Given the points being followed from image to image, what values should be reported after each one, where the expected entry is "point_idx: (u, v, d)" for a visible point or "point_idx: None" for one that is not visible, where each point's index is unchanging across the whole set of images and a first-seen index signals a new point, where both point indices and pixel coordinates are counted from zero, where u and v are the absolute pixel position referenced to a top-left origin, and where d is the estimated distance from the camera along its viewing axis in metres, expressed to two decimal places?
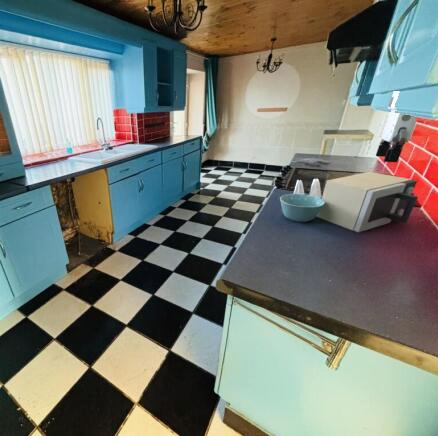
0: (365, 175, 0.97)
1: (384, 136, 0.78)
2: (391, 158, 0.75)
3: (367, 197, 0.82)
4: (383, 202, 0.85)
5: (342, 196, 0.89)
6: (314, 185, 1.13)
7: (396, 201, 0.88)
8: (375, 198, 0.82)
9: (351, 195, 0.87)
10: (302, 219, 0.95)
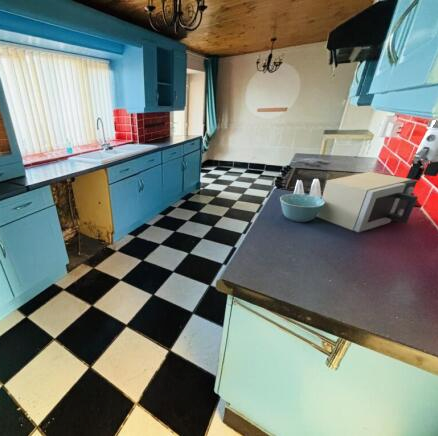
0: (365, 175, 0.97)
1: None
2: (411, 175, 0.79)
3: (367, 197, 0.82)
4: (383, 202, 0.85)
5: (342, 196, 0.89)
6: (314, 185, 1.13)
7: (396, 201, 0.88)
8: (375, 198, 0.82)
9: (351, 195, 0.87)
10: (302, 219, 0.95)
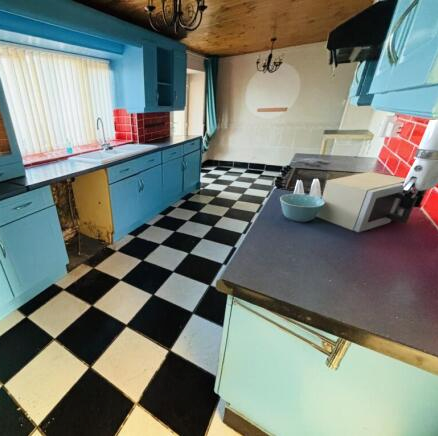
0: (365, 175, 0.97)
1: None
2: (403, 204, 0.84)
3: (367, 197, 0.82)
4: (383, 202, 0.85)
5: (342, 196, 0.89)
6: (314, 185, 1.13)
7: (396, 201, 0.88)
8: (375, 198, 0.82)
9: (351, 195, 0.87)
10: (302, 219, 0.95)
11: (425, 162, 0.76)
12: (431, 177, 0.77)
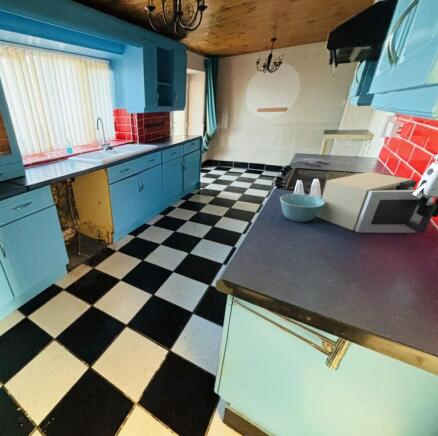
0: (365, 175, 0.97)
1: None
2: (418, 211, 0.78)
3: (367, 197, 0.82)
4: (393, 206, 0.81)
5: (342, 196, 0.89)
6: (314, 185, 1.13)
7: None
8: (378, 199, 0.81)
9: (351, 195, 0.87)
10: (302, 219, 0.95)
11: (437, 165, 0.71)
12: None
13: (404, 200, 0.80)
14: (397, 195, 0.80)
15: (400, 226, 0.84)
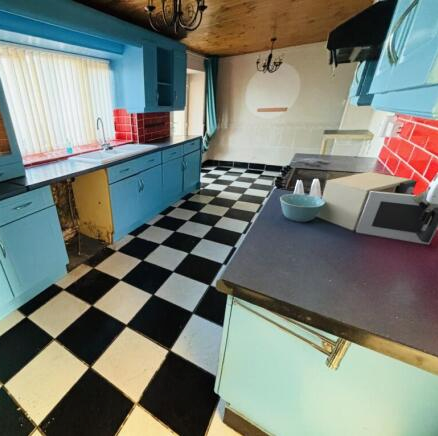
0: (365, 175, 0.97)
1: None
2: (420, 218, 0.74)
3: (368, 197, 0.82)
4: (398, 210, 0.78)
5: (342, 196, 0.89)
6: (314, 185, 1.13)
7: None
8: (378, 201, 0.80)
9: (351, 195, 0.87)
10: (302, 219, 0.95)
11: None
12: None
13: (411, 205, 0.76)
14: (402, 199, 0.77)
15: (409, 234, 0.79)
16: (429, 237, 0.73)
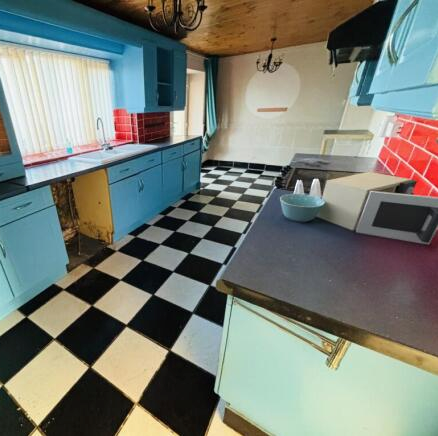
0: (365, 175, 0.97)
1: None
2: None
3: (368, 197, 0.82)
4: (398, 210, 0.78)
5: (342, 196, 0.89)
6: (314, 185, 1.13)
7: None
8: (378, 201, 0.80)
9: (351, 195, 0.87)
10: (302, 219, 0.95)
11: None
12: None
13: (411, 205, 0.76)
14: (402, 199, 0.77)
15: (409, 234, 0.79)
16: (429, 237, 0.73)
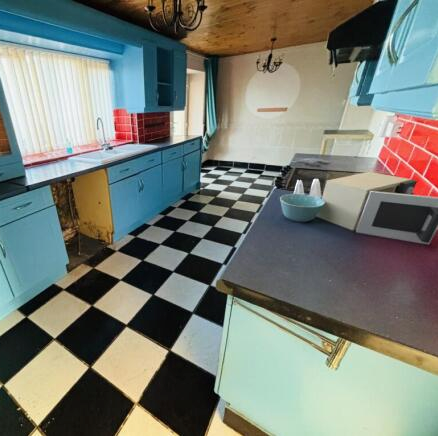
0: (365, 175, 0.97)
1: None
2: None
3: (368, 197, 0.82)
4: (398, 210, 0.78)
5: (342, 196, 0.89)
6: (314, 185, 1.13)
7: None
8: (378, 201, 0.80)
9: (351, 195, 0.87)
10: (302, 219, 0.95)
11: None
12: None
13: (411, 205, 0.76)
14: (402, 199, 0.77)
15: (409, 234, 0.79)
16: (429, 237, 0.73)
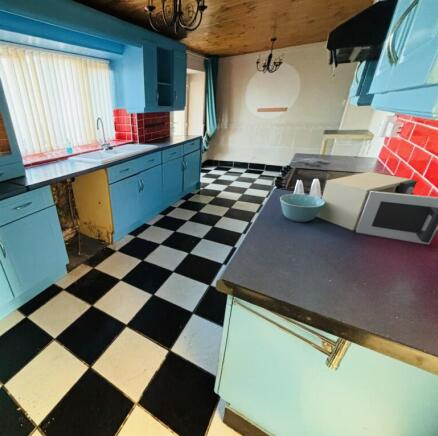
0: (365, 175, 0.97)
1: None
2: None
3: (368, 197, 0.82)
4: (398, 210, 0.78)
5: (342, 196, 0.89)
6: (314, 185, 1.13)
7: None
8: (378, 201, 0.80)
9: (351, 195, 0.87)
10: (302, 219, 0.95)
11: None
12: None
13: (411, 205, 0.76)
14: (402, 199, 0.77)
15: (409, 234, 0.79)
16: (429, 237, 0.73)
